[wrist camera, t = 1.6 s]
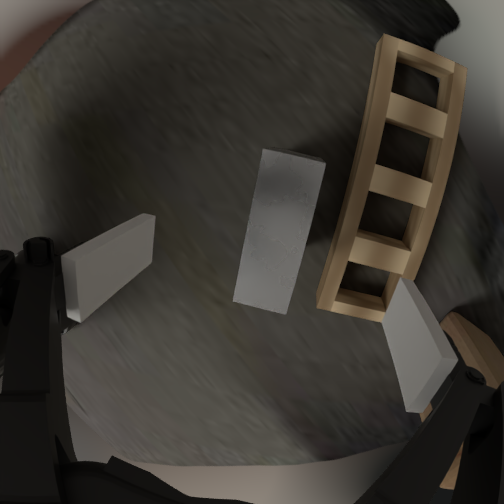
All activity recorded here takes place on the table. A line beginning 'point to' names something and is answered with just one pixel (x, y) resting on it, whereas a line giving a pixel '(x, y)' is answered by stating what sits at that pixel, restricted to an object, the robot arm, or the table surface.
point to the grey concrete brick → (278, 228)
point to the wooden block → (475, 355)
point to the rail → (394, 178)
